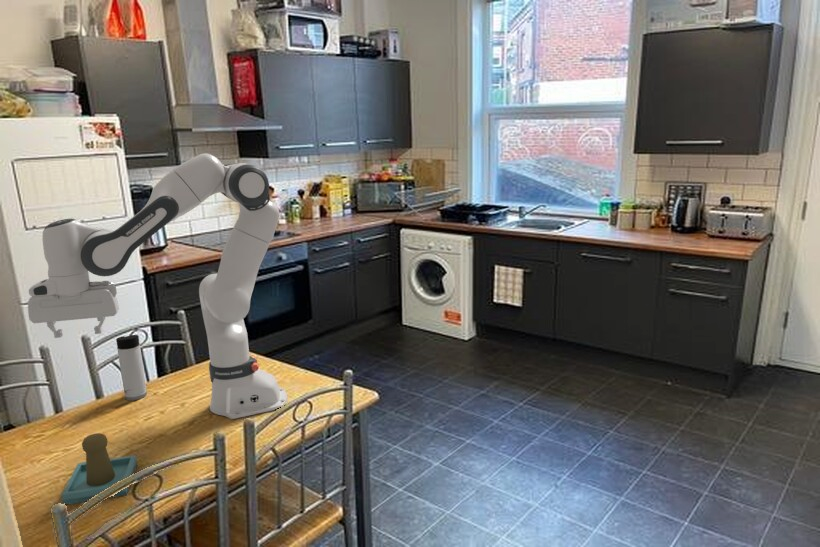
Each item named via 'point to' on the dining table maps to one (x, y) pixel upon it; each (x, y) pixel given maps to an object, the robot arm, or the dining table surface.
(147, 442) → the dining table surface
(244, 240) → the robot arm
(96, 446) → the brown tapered cylinder
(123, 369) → the travel mug
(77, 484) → the tray
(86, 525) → the dining table surface
